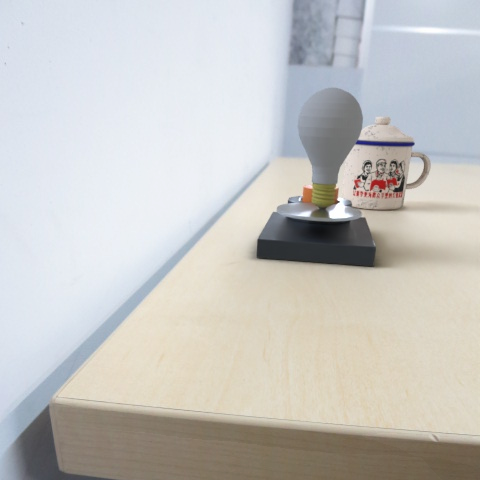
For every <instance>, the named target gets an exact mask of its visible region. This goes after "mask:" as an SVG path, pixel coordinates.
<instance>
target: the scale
mask: <svg viewBox="0 0 480 480" xmlns="http://www.w3.org/2000/svg"><path fill="white" fill-rule="evenodd" d="M302 198H303V195H296V196H291V197H288V199H287V204H288V203H300V202H302ZM337 205H344V206H349V207H352V202H351V201H349V200H346V199H343V198H342V197H338V201H337ZM352 208H353V207H352ZM376 251H377V246H376V243H375V241H374V238H373V234H372V232H371V229H370V227H369V224H368V221H367V218H366V217H365V216H363V217H362V216H361V217H360V218H358V219H355V220H350V221H337V222H326V221H310V220H301V219H295V218H290V217H286V216H283V215H281V214H279V213H278V212H277V211H272V213H271V214H270V216H269V218H268V219H267V221H266V224H265V226H264V227H263V228H262V231H261V232H260V234H259V235H258V237H257V240H256V258H257V259H267V260H279V261H280V260H281V261H292V262H293V261H295V262H307V263H308V262H309V263H322V264H334V265H348V266H363V267H374V265H375V260H376V259H375V258H376Z"/></svg>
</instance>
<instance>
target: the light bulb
mask: <svg viewBox="0 0 480 480" xmlns="http://www.w3.org/2000/svg"><path fill="white" fill-rule="evenodd" d="M297 119H298V120H297V132H298V137H299V139H300V142H301V144H302V146H303V149H304V151H305V153H306V155H307V157H308V160H309V163H310V166H311V171H312V174H311V183H312V184H311V185H312V187H313V188H314V189H313V190H312V191H313V193H312V196H313V197H312V203H313V204H314V205H316V206H318V207H319V209H326V208H327V207H329V206H331V205H333V204H334V202H335V201H334V199H335V196H334V195H335V192H334V191H336V189H335V188H336V187H337V184H338V183H339V181H338V180H339V173H340V170H341V167H342V166H343V163H345V161H346V157H347V156H348V154H349V153H350V151H351V150H352V148H353V147H354V145H355V144H356V142H357V140H358V139H359V136H360V133H361V130H362V129H363V123H364V115H363V112H362V107H361V105H360V103H359V101H358V99H357V98H356V97H355V96H354V95H352V94H351V92H349V91H346V90H344V89H342V88H338V87H327V88H323V89H321V90H318V91H316V92H315V93H313V94H311V95H310V96H309V97H308V98H307V99H306V100H305V102H304V103H303V105H302V107H301V109H300V111H299V114H298V118H297Z"/></svg>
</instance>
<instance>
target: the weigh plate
mask: <svg viewBox="0 0 480 480" xmlns="http://www.w3.org/2000/svg"><path fill="white" fill-rule="evenodd" d="M276 212H278V213H279V214H281V215H283V216H286V217H290V218H295V219H301V220H310V221H326V222H337V221H350V220H355V219H358V218H360V217H362V215H363V213H362V211H361V210H360V209H359V208H358V209H357V208H356V207H349V206H344V205H337V204H333V205H331V206H329V207H327V208H326V209H319V207H318V206H316V205H314V204H313V203H312V202H300V203H288V202H287V203H283V204H280V205H278V206H276Z"/></svg>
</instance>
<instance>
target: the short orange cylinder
mask: <svg viewBox="0 0 480 480" xmlns="http://www.w3.org/2000/svg"><path fill="white" fill-rule="evenodd" d="M312 185H313V184H305V185H303V187H302V196H303V198H302V202H312V197H313V196H312V193H313V191H312V190H313V189H314V188H313V187H312ZM335 189H336V191H334V192H335V195H334V196H335V199H334V201H335V202H334V204H337V201H338V198H339V192H340V191H339V190H340V188H339V186H336V188H335Z"/></svg>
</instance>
